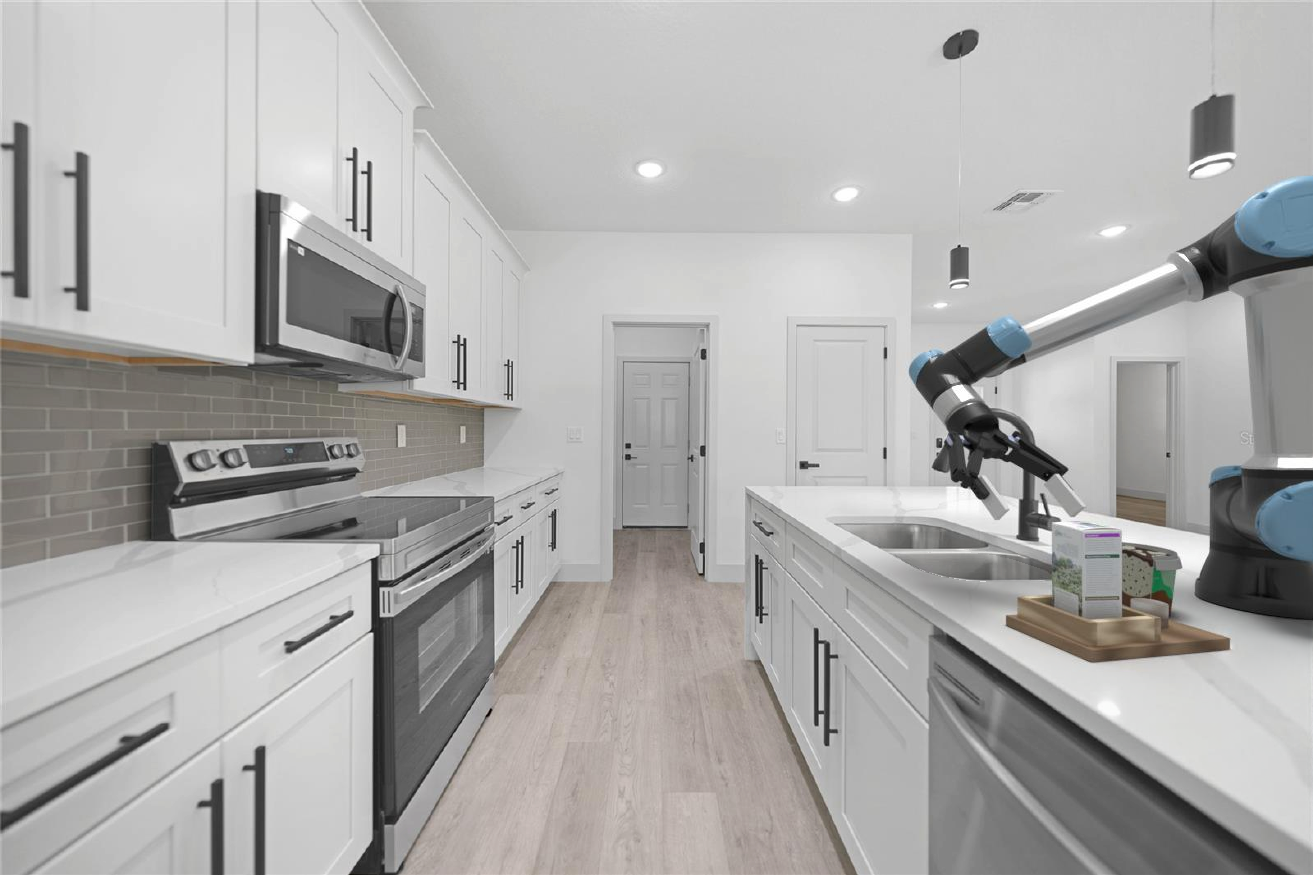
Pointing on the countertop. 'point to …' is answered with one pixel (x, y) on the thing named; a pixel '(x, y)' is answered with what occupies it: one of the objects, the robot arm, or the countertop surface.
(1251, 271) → the robot arm
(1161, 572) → the food container
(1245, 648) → the countertop surface
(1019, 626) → the wooden tray on board
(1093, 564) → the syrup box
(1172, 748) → the countertop surface
